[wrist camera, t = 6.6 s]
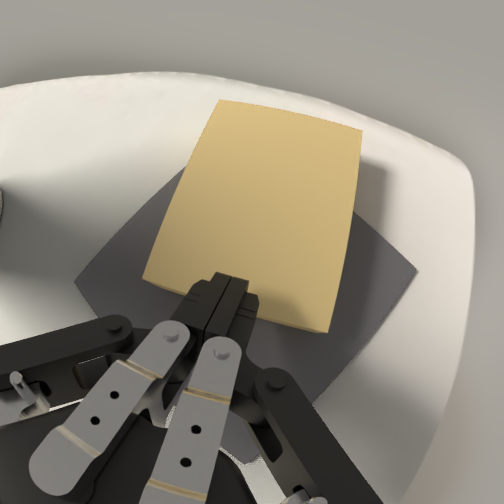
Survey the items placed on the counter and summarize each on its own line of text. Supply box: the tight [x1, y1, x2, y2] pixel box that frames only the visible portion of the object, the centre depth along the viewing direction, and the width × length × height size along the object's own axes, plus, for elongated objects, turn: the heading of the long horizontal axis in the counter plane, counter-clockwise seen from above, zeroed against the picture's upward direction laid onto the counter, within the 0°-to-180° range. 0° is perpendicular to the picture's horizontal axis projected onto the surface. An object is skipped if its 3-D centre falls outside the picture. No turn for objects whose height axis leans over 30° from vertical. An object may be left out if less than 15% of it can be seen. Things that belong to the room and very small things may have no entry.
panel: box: [142, 99, 362, 333], centre depth 17 cm, size 3×10×13 cm
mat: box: [74, 166, 416, 464], centre depth 18 cm, size 17×17×1 cm
